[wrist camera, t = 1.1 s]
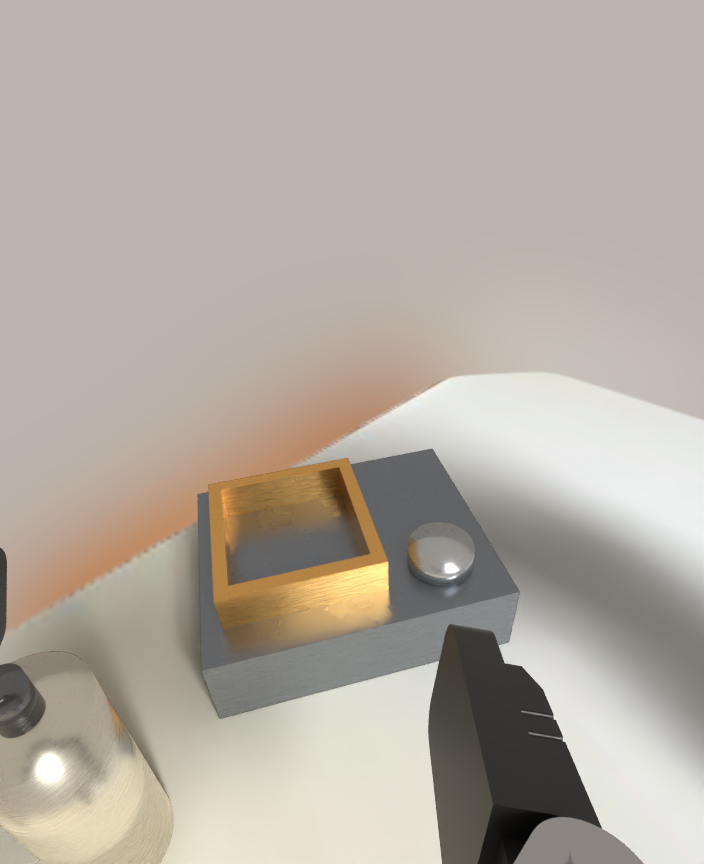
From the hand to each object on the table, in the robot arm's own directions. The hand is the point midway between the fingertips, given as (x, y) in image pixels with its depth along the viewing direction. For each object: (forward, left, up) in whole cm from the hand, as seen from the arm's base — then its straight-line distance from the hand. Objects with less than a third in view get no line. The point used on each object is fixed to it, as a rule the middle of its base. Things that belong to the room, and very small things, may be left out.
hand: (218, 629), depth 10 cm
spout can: (+9, -6, -23) cm, 25 cm away
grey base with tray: (-5, -18, -23) cm, 29 cm away
